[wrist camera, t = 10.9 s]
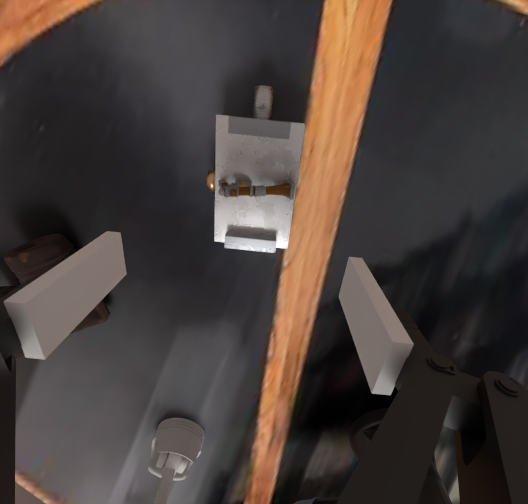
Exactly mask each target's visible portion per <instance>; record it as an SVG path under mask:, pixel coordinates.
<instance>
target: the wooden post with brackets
mask: <svg viewBox="0 0 528 504" xmlns="http://www.w3.org/2000/svg"><path fill="white" fill-rule="evenodd" d="M228 184H229V183H227V182H226V181H223V180H219V187H220V189H219V191H218V193H219V195H221V196H224V197H226V198H227V197H238V196H250V197H253V196H255V197H257V196H266V195H282V196H285V197H287V198H288V199H290V200H291V199H293V200H294V192H295V184H296V183H294V182H292V181H290V180H285V183H284V184H280V185H274V186H264V185H261V186H255V185H253V187H252V184H251V183H250V182H248V181H246V180H244V181H238V180H237V179H236V181H235V183H233V182H232V183H231V184H229V185H228Z"/></svg>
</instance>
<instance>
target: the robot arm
mask: <svg viewBox="0 0 528 504" xmlns="http://www.w3.org/2000/svg"><path fill="white" fill-rule="evenodd" d="M126 274H127V273H126V267H125V260H124V253H123V246H122V240H121V233H118V232H109V231H107V232H105V233H104V234H102V235H101V236H99V237H98V238H96V239H95V240H93V241H92V242H91V243H89V244H88V245H86V246H85V247H83V248H82V249H80V250H79V251H77V252H76V253H74V254H73V255H71V256H70V257H68V258H67V259H65V260H64V261H62V262H61V263H59V264H58V265H56V266H55V267H53V268H52V269H51V270H47V271H44V272H42V273H39V274H37V275H35V276H33V277H32V278H30V279H29V280H27V281H25V283H22V284H21V285H19V286H18V287H17V289H16V288H15V289H13V290H12V291H10V292H9V293H7V294H6V295H4V296H3V297H1V298H0V504H15V406H16V360H15V357H14V355H13V353H14V352H16V351H17V350H18V349H19V348H20V347H22V349H23V352H24V354H25V357H26V358H35V359H46V358H47V357H48V356H49V355H50V354H51V353H52V352H53V350H54V349H55V348H56V347H57V346H58V345H59V344H60V343H61V342H62V341H63V340H64V339H65V338H66V337H67V336H68V335H69V334H70V333H71V332H72V331H73V330H74V329H75V327H76V326H77V325H78V324H79V323H80V322H81V321H82V320H83V319H84V318H85V317H86V316H87V315H88V314H89V313H90V312H91V311H92V310H93V309H94V308H95V307H96V306H97V304H98V303H99V302H100V301H101V300H102V299H103V298H104V297H105V296H106V295H107V294H108V293H109V292H110V291H111V290H112V289H113V288H114V287H115V286H116V285H117V284H118V282H119V281H120V280H121V279H122V278H123V277H124V276H125V275H126ZM339 299H340V302H341V305H342V308H343V311H344V314H345V317H346V319H347V322H348V325H349V328H350V331H351V334H352V337H353V340H354V343H355V346H356V349H357V352H358V355H359V358H360V361H361V364H362V366H363V369H364V372H365V375H366V378H367V381H368V384H369V387H370V390H371V393H373V394H382V395H391V394H392V391H393V389H394V387H395V385H396V388H397V390H398V393H397V395H396V396H395V398H394V400H393V402H392V404H391V405H390V407H389V408H382V409H377V410H373V411H370V412H368V413H365V414H363V415H362V416H360V417H359V418H357V419H356V420H355V421H354V422H353V423H352V425H351V426H350V429H349V439H350V443H351V447H352V450H353V452H354V454H355V455H356V457H357V459H358V461H359V463H358V465H357V467H356V469H355V471H354V472H353V474H352V476H351V478H350V480H349V481H348V483H347V485H346V487H345V489H344V490H343V492H342V494H341V496H340V497H334V498H319V497H315V498H313V499H310V500H302V501H298V502H296V503H295V504H452V502H451V500H450V498H449V496H448V494H447V491H446V489H445V487H444V485H443V483H442V481H441V478H440V476H439V474H438V471H437V468H436V461H435V455H434V451H435V447H436V444H437V441H438V438H439V435H440V432H441V429H442V426H446V427H448V428H451V429H453V430H454V435H455V447H456V459H457V471H458V483H459V495H460V504H528V390H527V389H525V388H524V387H523V386H522V385H521V384H520V383H519V382H517V381H516V380H515V379H513V378H511V377H509V376H507V375H505V374H503V373H499V372H496V371H488V372H486V373H485V374H484V375H483V377H482V378H481V379H480V378H477V377H474V376H471V375H468V374H465V373H462V372H459V370H458V369H457V367H456V365H455V364H454V363H453V362H452V361H451V360H450V359H448V358H446V357H445V356H443V355H441V354H439V353H437V352H434V351H433V350H432V348H431V347H430V345H429V343H428V342H427V340H426V339H425V337H424V336H423V334H422V333H421V331H420V330H418V327H417V325H416V324H415V323H414V321H413V319H412V318H411V316H410V315H409V314H408V313H407V312H406V311H405V310H404V309H402V308H401V307H400V306H393V305H390V304H389V302H388V300H387V299H386V297H385V295H384V294H383V292H382V290H381V289H380V287H379V285H378V284H377V282H376V280H375V279H374V277H373V275H372V274H371V272H370V270H369V269H368V267H367V265H366V264H365V262H364V260H363V259H362V258H356V257H349V259H348V263H347V266H346V270H345V274H344V278H343V282H342V285H341V289H340V293H339Z"/></svg>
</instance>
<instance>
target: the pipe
mask: <svg viewBox="0 0 528 504" xmlns="http://www.w3.org/2000/svg"><path fill="white" fill-rule="evenodd" d="M74 253H76V249H75V248H73V244H72V243H70V242H69V240H68V239H67V238H66V237H65V236H64V235H62V234H58V233H57V234H49V235H46V236H42V237H39V238H37V239H34V240H32V241H30V242H27V243H25V244H23V245H21V246H19V247H17V248H15V249H13V250H11V251H9V252H8V253H7V254H6V255H5V256H4V260H5V263H6V264H7V265H8V266H9V267H10V269H11V271H12V272H13V273H15V275H16V277H17V278H19V282H20V284H22V283H25V281H27V280H29V279H30V278H32V277H33V276H35V275H37V274H39V273H42V272H44V271H47V270H51V269H52V268H53V267H55V266H56V265H58V264H59V263H61V262H62V261H64V260H65V259H67V258H68V257H70V256H71V255H73V254H74ZM15 288H16V289H17V287H15V286H3V287H0V298H1V297H3V296H4V295H6V294H7V293H9V292H10V291H12V290H13V289H15ZM109 315H110V312H109V310H108V308H107V306H106V304H105V303H104V301H103V299H102V300H101V301H100V302H99V303H98V304H97V306H96V307H95V308H94V309H93V310H92V311H91V312H90V313H89V314H88V315H87V316H86V317H85V318H84V319H83V320H82V321H81V322H80V323H79V324H78V325H77V326H76V327H75V329H74V330H73V331H72V332H71V333H74V332H76V331H79V330H82V329H84V328H87V327H90V326H93V325H96V324H99V323H102V322H105V321H106V320H107V319H108V318H109ZM71 333H70V334H71ZM13 355H14V357H15V358H17V357H21V356H23V355H25V354H24V352H23V349H22V347H20V348H19V349H18V350H17V351H16V352H14V353H13Z"/></svg>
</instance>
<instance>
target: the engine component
mask: <svg viewBox="0 0 528 504" xmlns="http://www.w3.org/2000/svg"><path fill="white" fill-rule="evenodd" d="M204 436H205V434H204V431H203V429H202V428H201V426H199V425H198V424H197V423H195V422H193V421H191V420H188V419H184V418H169V419H166V420H164V421H162V422H161V423H160V424H159V426H158V428H157V431H156V434H155V436H154V439H153V441H152V453H151V459H150V462H149V466H148V469H149V471H150V472H151V473H152V474H154V475H156V476H158V477H160V478H161V480H160V484H159V487H158V490H157V493H156V496H155V499H154V502H153V504H166V501H167V498H168V494H169V491H170V488H171V484H172V481H173V480H184V479H185V478H186V477H187V475H188V471H189V469H190V467H191V465H192V464H193V462H196V459H197V457H198V456H199V455H200V453H201V449H202V445H203V440H204Z"/></svg>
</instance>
